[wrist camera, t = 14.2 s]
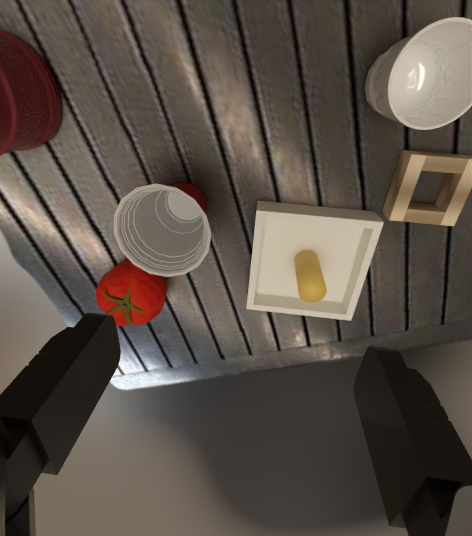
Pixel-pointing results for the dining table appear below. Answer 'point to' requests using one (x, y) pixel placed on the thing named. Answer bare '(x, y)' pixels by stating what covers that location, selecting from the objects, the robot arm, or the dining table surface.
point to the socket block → (451, 194)
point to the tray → (319, 241)
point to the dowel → (309, 276)
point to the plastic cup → (163, 228)
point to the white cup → (425, 76)
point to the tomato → (131, 294)
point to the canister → (26, 97)
